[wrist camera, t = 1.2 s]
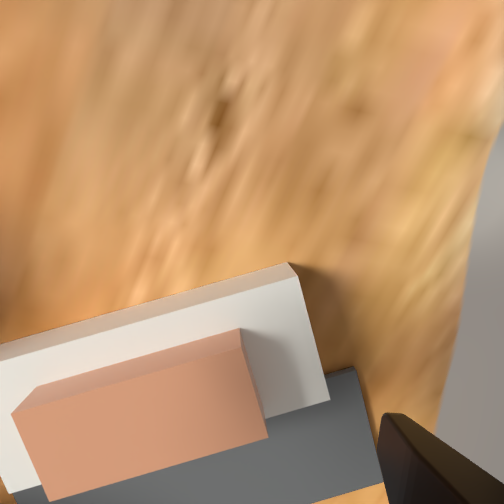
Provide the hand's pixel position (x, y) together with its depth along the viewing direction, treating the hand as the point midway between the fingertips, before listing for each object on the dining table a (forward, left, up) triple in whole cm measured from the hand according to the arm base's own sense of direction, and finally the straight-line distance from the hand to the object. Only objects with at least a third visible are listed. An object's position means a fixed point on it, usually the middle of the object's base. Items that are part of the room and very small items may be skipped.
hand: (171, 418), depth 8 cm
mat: (-3, -10, -11) cm, 15 cm away
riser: (-3, -3, -11) cm, 12 cm away
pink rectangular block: (-3, -4, -8) cm, 10 cm away
